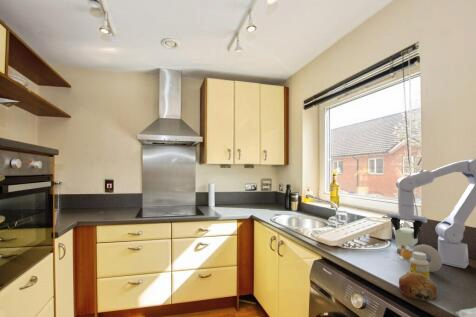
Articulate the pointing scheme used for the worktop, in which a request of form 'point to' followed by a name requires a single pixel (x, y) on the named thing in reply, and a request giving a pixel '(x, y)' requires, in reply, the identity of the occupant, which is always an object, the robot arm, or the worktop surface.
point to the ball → (406, 254)
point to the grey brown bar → (402, 249)
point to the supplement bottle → (419, 264)
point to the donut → (434, 255)
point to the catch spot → (404, 258)
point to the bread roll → (417, 286)
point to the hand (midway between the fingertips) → (406, 236)
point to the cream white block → (405, 237)
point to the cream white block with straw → (402, 224)
